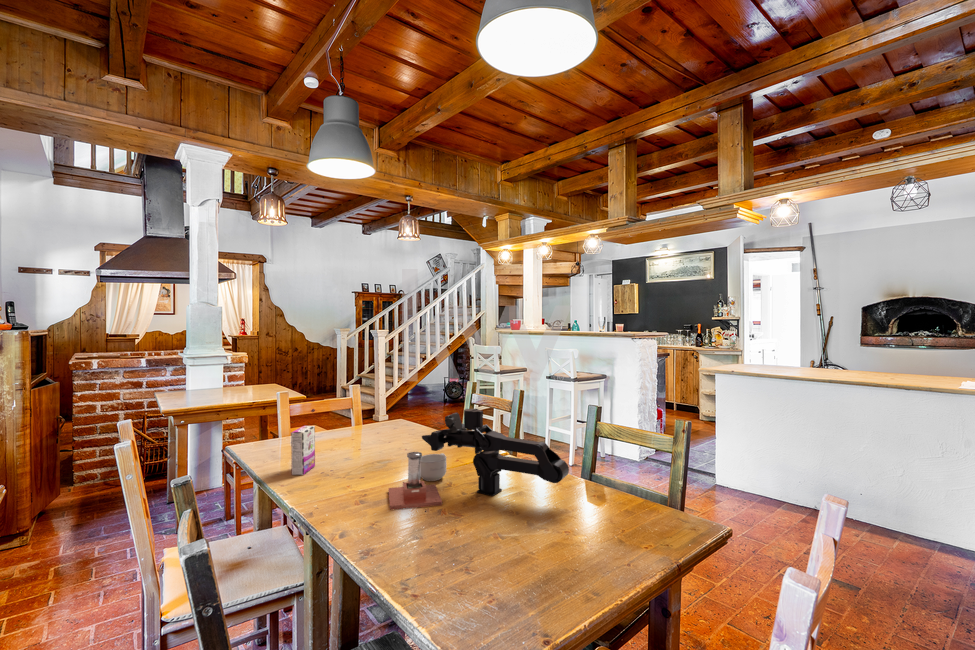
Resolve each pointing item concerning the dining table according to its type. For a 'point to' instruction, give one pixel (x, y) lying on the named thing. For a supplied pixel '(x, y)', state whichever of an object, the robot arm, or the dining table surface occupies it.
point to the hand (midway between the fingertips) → (429, 434)
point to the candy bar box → (303, 450)
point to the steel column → (414, 469)
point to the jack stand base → (414, 496)
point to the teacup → (433, 466)
